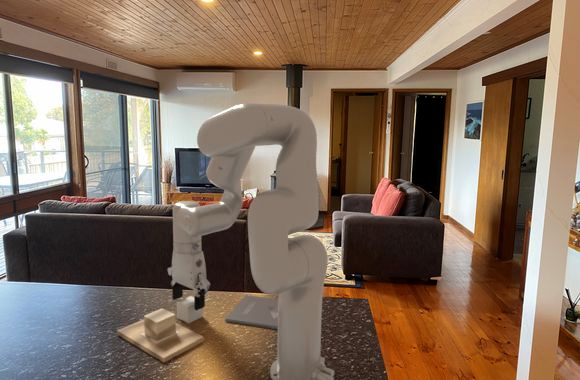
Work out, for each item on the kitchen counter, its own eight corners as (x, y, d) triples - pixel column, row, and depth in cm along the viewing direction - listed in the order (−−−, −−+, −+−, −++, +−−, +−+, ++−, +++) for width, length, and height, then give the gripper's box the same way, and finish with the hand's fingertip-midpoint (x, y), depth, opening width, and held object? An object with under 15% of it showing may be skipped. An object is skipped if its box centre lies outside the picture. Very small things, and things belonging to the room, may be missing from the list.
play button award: (245, 295, 129) (307, 302, 124) (245, 299, 129) (307, 307, 124) (225, 318, 113) (294, 328, 108) (225, 323, 113) (294, 333, 108)
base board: (203, 341, 103) (203, 336, 103) (163, 362, 94) (163, 357, 93) (157, 317, 115) (157, 313, 115) (117, 334, 106) (117, 330, 105)
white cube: (202, 316, 116) (202, 300, 115) (188, 323, 112) (188, 306, 111) (191, 311, 119) (190, 295, 118) (177, 318, 115) (176, 301, 114)
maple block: (175, 332, 105) (175, 314, 104) (157, 341, 100) (156, 322, 99) (162, 325, 108) (162, 308, 107) (144, 334, 104) (143, 315, 103)
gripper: (219, 249, 110) (219, 307, 113) (179, 236, 120) (180, 290, 123) (197, 256, 104) (198, 317, 107) (157, 242, 114) (158, 298, 117)
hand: (188, 303), depth 115 cm, fingers open, 9 cm apart
